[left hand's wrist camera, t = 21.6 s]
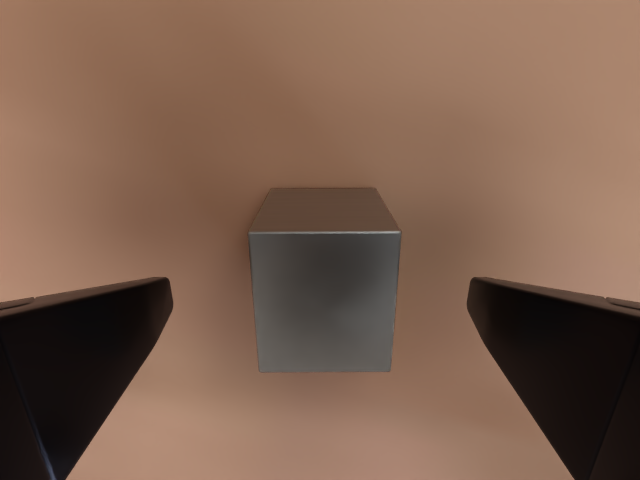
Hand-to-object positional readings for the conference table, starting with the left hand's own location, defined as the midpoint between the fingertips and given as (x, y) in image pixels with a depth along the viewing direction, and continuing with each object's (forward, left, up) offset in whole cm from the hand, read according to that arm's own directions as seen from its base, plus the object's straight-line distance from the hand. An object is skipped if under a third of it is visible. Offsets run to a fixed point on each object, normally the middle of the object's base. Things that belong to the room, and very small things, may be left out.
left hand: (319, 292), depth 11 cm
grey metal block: (0, 0, -4) cm, 4 cm away
